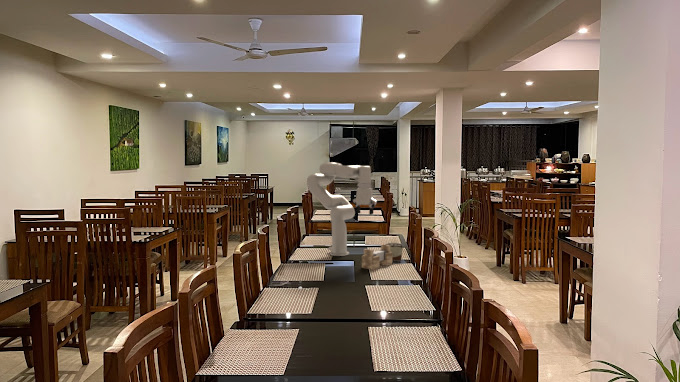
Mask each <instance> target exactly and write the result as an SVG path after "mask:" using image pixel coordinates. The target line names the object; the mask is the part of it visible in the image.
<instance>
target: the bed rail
mask: <svg viewBox="0 0 680 382" xmlns="http://www.w3.org/2000/svg"><path fill="white" fill-rule="evenodd" d="M385 253H387V251H386V250H381V249H379V250H374V251H373V257H374V256H379V261H382V260H385Z"/></svg>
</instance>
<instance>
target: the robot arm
mask: <svg viewBox="0 0 680 382" xmlns="http://www.w3.org/2000/svg"><path fill="white" fill-rule="evenodd" d="M371 169H372V167H371V166H370V165H360V164H359V165H358V164H356V165H343V164H342V163H339V162H333V161H331V162H322V163H321V164H320V166H319V169H318V170H319V173H312V174H309V176H307V178H306V186H307V189H308V191H309V193H311V194H312V195H313V196H314V197H315V199H317V200H318V201H319V202H320V203H321V205H322V206H323V207H324V208H325V209H327V210H329V215H330V217H329V218H330V221H331V246H328V251H330V252H329V255H330V256H334V257H340V256H341V257H344V256H345V257H346V256H349V255H350V251H348V250H347V249H348V246H347V244H348V240H347V239H348V235H347V232H348V231H347V223H346V222H345V221H346V220H350V219H353V218H354V217H355V216H356V215H355V214H357V215H358V214H361V206H362V205H363V206H368V207H369V209H368V211H369V213H368V214H369V215H374V208H375V207H376V205H377V202H378V201H377V200H376V199H374V198H373V197H374V196H373V195H374V194H373V188H372V174H371V173H372V172H371V171H372V170H371ZM336 177H338V178H341V179H342V178H343V179H344V178H345V179H354V178H356V179H357V178H358V183H357V185H356V186H357V189H356V193H355V194H356V195H355V197H356V198H355V197H354V199H352V202H353V204H354V206H355V208H356V209H355V208H354V207H353V204H351V203H350V202H349V200H348V199H346V198H345V196H343V195H341V194H331V193H330V192H329V190H327V189H326V188H325V187H323V186H329V185H330V184H331V183H332V182H334V180H335V179H336ZM355 210H356V211H355Z"/></svg>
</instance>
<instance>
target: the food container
mask: <svg viewBox="0 0 680 382" xmlns="http://www.w3.org/2000/svg"><path fill="white" fill-rule="evenodd" d="M384 244H385V245H390V252H392V262H402V259H403V257H402V256H403V249H404V245H403V244H402V243H399V242H388V243H384Z"/></svg>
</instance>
